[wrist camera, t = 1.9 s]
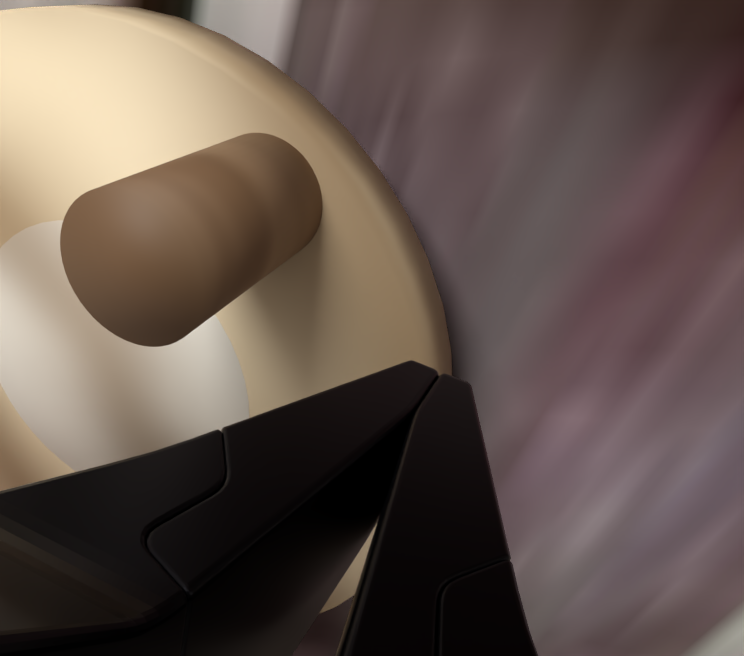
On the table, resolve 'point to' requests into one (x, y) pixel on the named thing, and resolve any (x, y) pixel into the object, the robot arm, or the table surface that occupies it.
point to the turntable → (183, 244)
